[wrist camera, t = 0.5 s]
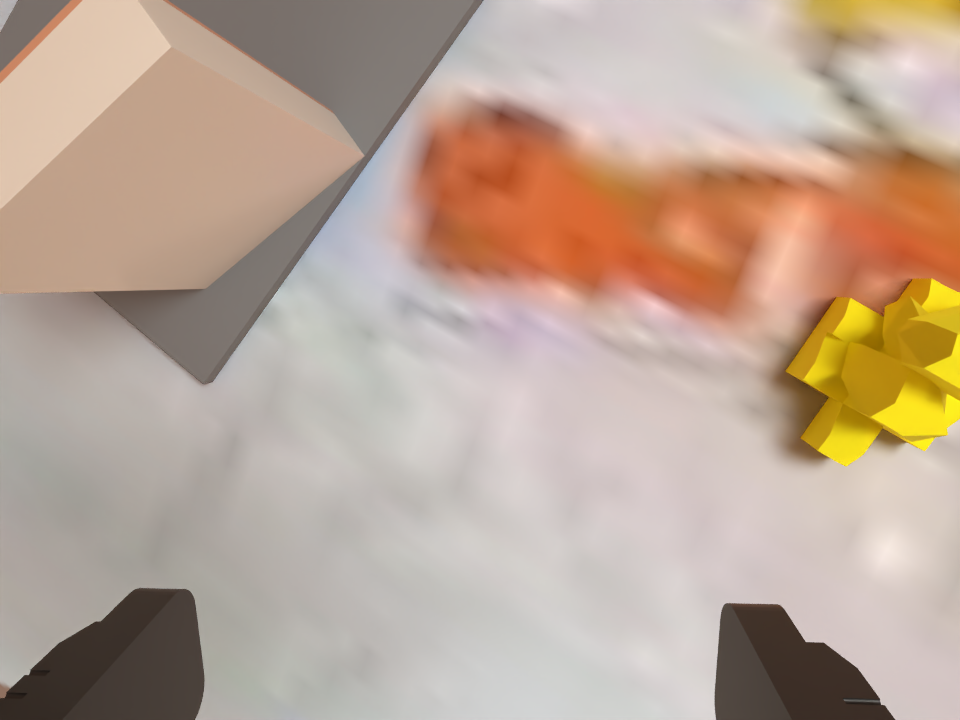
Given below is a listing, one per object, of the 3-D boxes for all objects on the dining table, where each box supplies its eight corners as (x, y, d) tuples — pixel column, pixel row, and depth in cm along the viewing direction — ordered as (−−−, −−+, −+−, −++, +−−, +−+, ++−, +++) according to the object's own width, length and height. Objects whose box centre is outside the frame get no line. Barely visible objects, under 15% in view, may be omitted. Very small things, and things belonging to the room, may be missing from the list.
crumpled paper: (756, 411, 29) (817, 459, 21) (865, 252, 27) (973, 242, 20) (875, 482, 28) (981, 555, 21) (993, 324, 27) (1153, 341, 19)
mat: (173, -247, 29) (162, -261, 29) (484, -2, 28) (481, -10, 28) (-53, 158, 34) (-68, 155, 33) (212, 381, 33) (203, 384, 32)
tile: (332, 110, 29) (109, -39, 16) (364, 155, 29) (171, 46, 16) (174, 246, 31) (-146, 220, 18) (205, 288, 31) (-91, 295, 18)
